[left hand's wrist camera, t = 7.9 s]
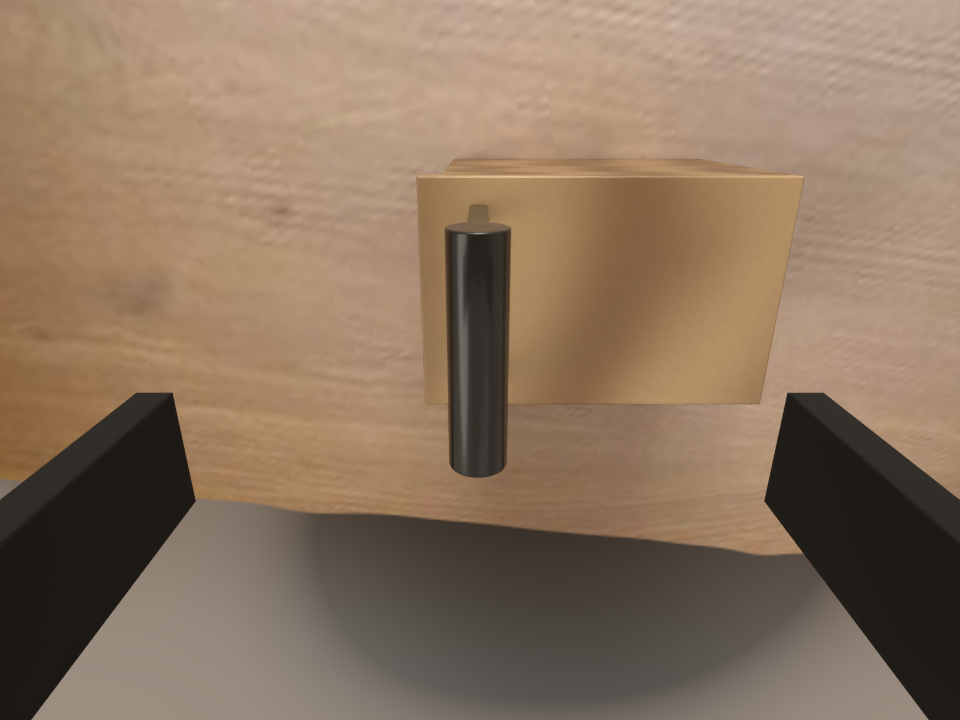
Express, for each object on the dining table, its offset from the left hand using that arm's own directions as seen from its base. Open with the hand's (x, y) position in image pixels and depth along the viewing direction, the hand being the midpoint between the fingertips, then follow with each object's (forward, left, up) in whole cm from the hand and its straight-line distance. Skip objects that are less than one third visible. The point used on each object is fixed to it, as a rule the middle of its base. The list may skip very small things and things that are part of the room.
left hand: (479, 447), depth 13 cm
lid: (+5, +1, -13) cm, 14 cm away
